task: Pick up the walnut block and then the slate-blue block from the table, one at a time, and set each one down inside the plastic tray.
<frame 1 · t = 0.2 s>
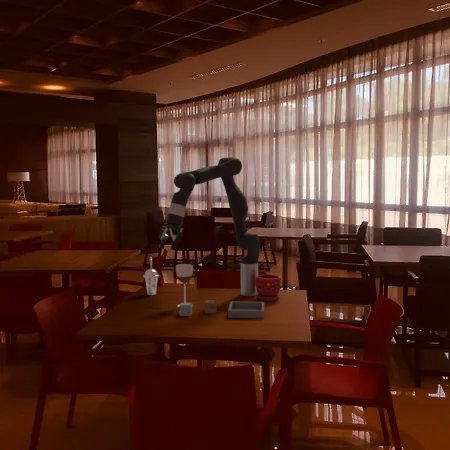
hand: (167, 249, 233), 31 cm above the table, tool tilted 20°, fingers open, 8 cm apart
wineglass: (185, 305, 254), on the table
slate block: (185, 314, 237), on the table
walnut block: (210, 312, 241), on the table
cup with straw: (151, 294, 279), on the table
plant pot: (268, 299, 266), on the table
tray: (246, 313, 238), on the table
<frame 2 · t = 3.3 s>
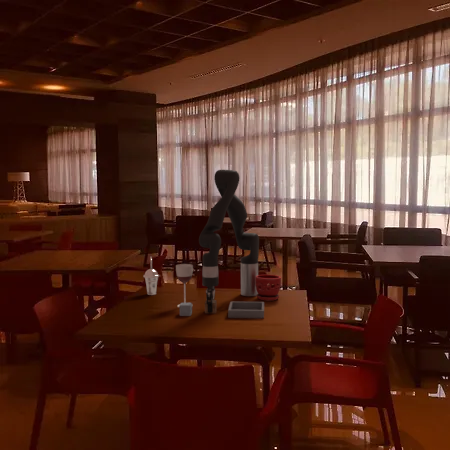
hand: (210, 310, 241), 0 cm above the table, tool pointing down, fingers closed on walnut block, 5 cm apart
walnut block: (210, 311, 241), on the table, touching gripper
everything else where it was.
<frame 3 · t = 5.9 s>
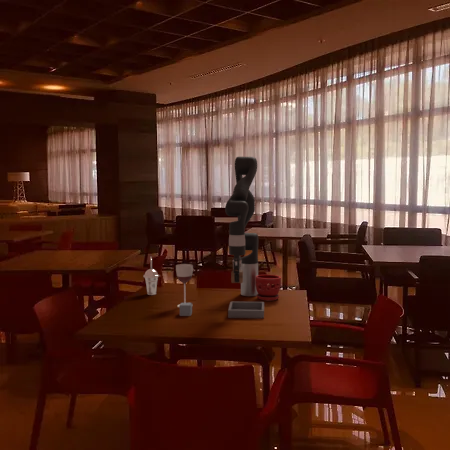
hand: (237, 280, 237), 15 cm above the table, tool pointing down, fingers closed on walnut block, 5 cm apart
walnut block: (237, 281, 237), point 15 cm above the table, touching gripper
everything else where it was.
when the fingers open (3 cm above the table, at t = 8.8 s): walnut block drops 2 cm, resting on tray.
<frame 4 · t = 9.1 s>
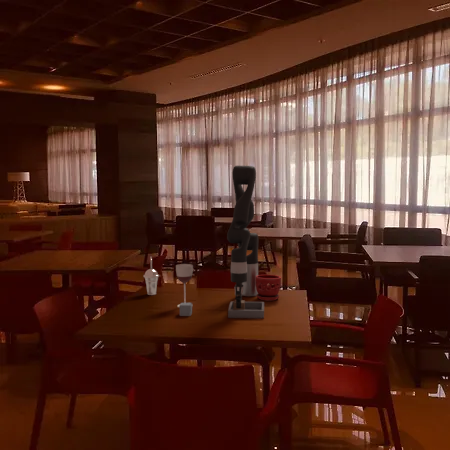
hand: (239, 306, 238), 3 cm above the table, tool pointing down, fingers open, 7 cm apart
walnut block: (239, 312, 238), point 1 cm above the table, touching tray
everything else where it was.
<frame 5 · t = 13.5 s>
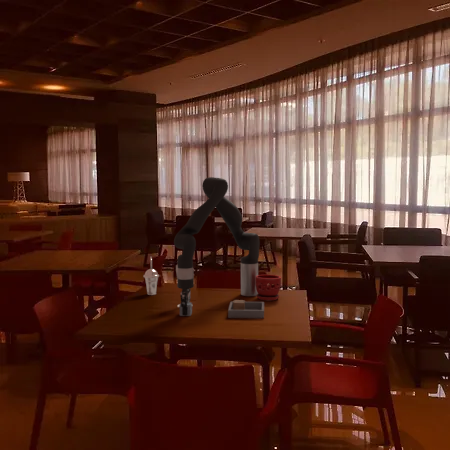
hand: (185, 313, 237), 0 cm above the table, tool pointing down, fingers closed on slate block, 5 cm apart
slate block: (185, 314, 237), on the table, touching gripper
everything else where it was.
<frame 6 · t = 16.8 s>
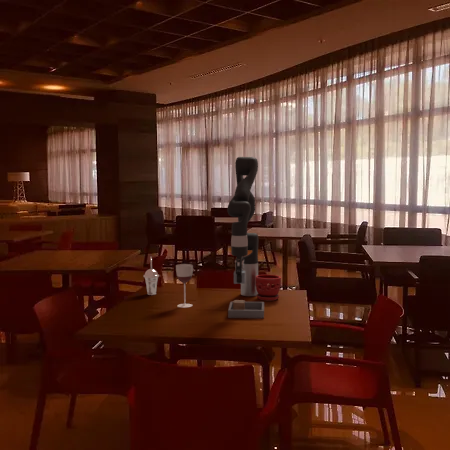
hand: (239, 281, 237), 15 cm above the table, tool pointing down, fingers closed on slate block, 5 cm apart
slate block: (239, 282, 237), point 15 cm above the table, touching gripper
everything else where it was.
when the fingers open (3 cm above the table, at t = 20.2 s): slate block drops 2 cm, resting on tray.
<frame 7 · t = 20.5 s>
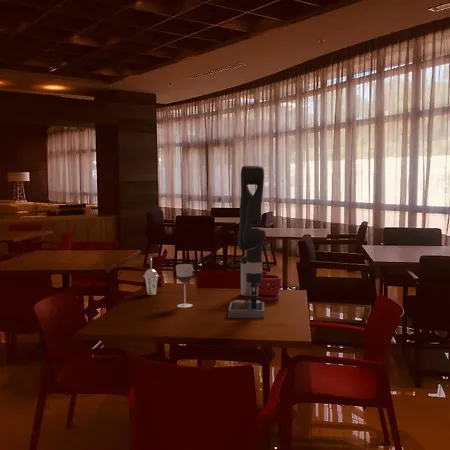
hand: (254, 306, 237), 3 cm above the table, tool pointing down, fingers open, 7 cm apart
slate block: (254, 312, 238), point 1 cm above the table, touching tray
everything else where it was.
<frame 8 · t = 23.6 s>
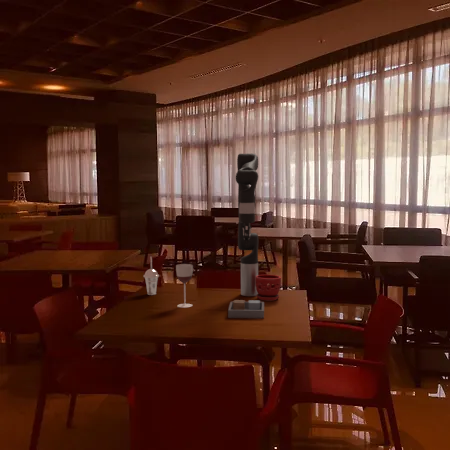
hand: (247, 246, 245), 30 cm above the table, tool pointing down, fingers open, 8 cm apart
nothing on the table moved.
at the end: walnut block inside the target area on the tray (3.5 cm from its centre), point 0.6 cm above the tray's base; slate block inside the target area on the tray (3.5 cm from its centre), point 0.6 cm above the tray's base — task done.
